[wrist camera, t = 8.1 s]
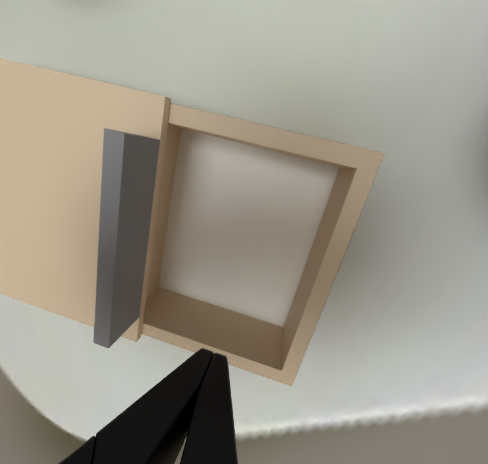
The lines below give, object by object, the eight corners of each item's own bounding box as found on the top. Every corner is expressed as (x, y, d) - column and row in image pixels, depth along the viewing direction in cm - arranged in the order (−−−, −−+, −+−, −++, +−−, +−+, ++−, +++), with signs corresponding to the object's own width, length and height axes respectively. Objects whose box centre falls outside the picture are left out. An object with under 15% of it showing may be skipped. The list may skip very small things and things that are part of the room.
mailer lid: (170, 99, 13) (128, 76, 10) (141, 336, 18) (106, 376, 15) (-47, 49, 15) (-149, 14, 11) (-19, 280, 20) (-84, 304, 16)
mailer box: (357, 156, 17) (384, 153, 12) (291, 337, 22) (291, 386, 17) (172, 112, 18) (131, 94, 14) (149, 291, 23) (113, 323, 18)
